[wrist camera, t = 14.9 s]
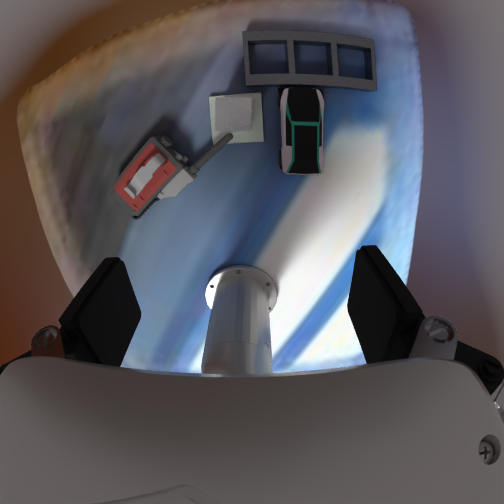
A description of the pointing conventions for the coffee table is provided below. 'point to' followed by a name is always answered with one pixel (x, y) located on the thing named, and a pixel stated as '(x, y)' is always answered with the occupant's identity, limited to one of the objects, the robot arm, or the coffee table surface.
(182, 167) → the walkie-talkie
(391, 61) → the coffee table surface
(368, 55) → the grey flat frame
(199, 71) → the coffee table surface
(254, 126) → the sage mat
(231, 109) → the steel block
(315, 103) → the toy car
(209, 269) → the coffee table surface
